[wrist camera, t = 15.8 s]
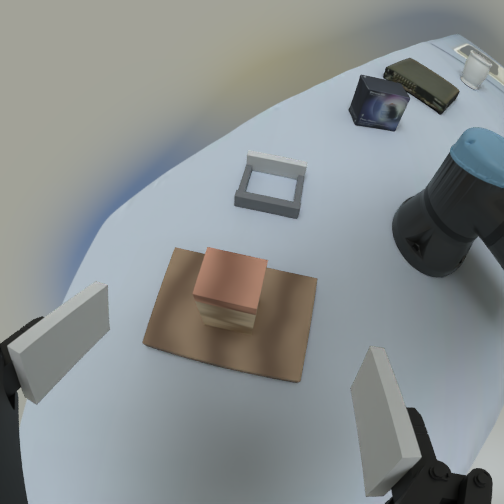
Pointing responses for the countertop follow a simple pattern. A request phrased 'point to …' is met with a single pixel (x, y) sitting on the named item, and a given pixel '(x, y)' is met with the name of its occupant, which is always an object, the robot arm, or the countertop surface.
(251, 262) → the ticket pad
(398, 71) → the network switch
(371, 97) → the small box
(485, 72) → the jar
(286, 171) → the frame
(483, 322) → the countertop surface
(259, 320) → the walnut board
